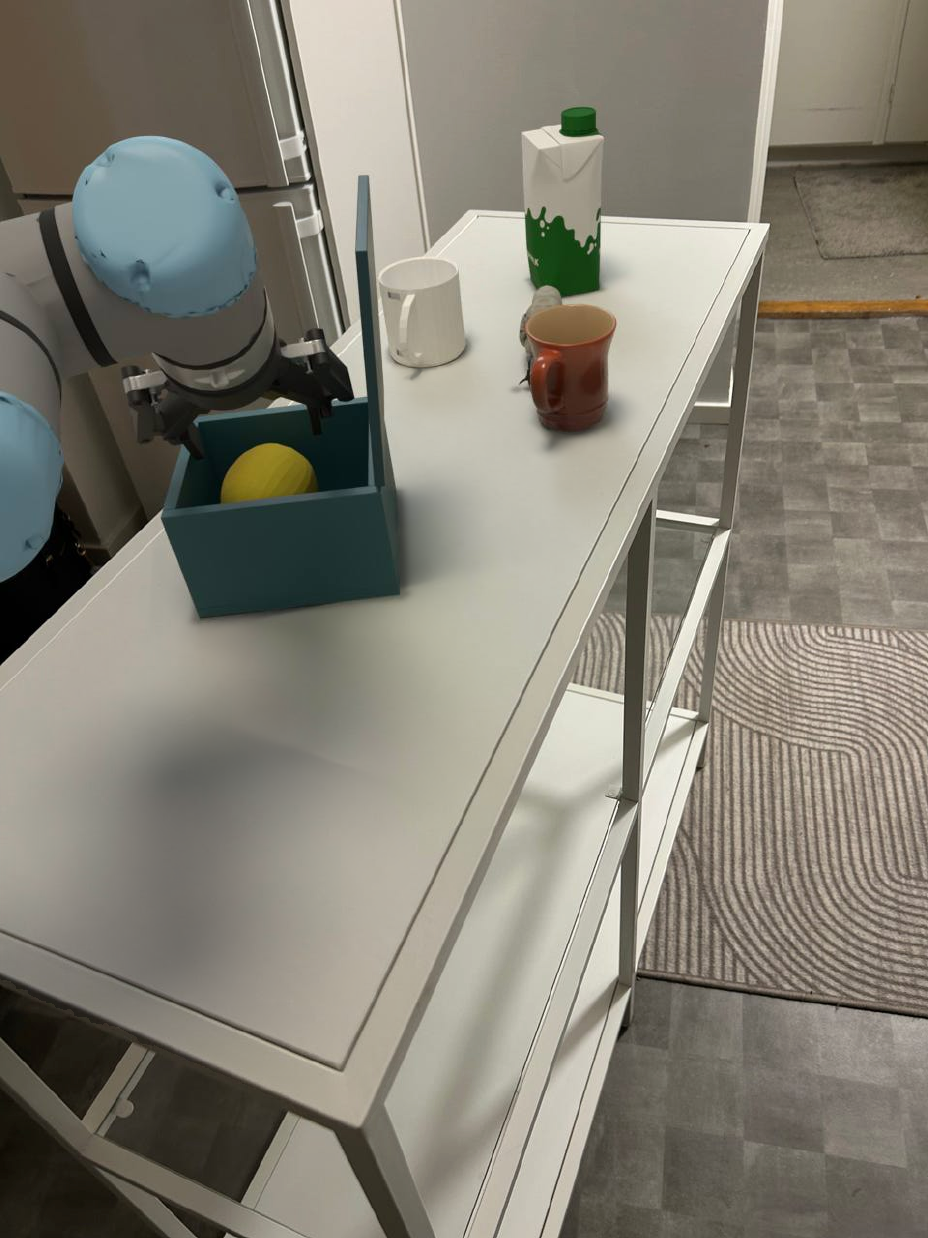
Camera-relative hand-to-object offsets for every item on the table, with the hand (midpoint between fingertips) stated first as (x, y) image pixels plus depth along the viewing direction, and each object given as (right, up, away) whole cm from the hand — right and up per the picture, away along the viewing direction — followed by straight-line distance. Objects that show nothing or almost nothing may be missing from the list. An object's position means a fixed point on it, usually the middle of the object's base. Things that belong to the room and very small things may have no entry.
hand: (255, 431), depth 78 cm
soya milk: (+31, +27, +42) cm, 58 cm away
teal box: (+3, -10, +5) cm, 11 cm away
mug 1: (+13, +15, +31) cm, 37 cm away
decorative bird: (+27, +14, +28) cm, 41 cm away
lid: (+10, +6, -8) cm, 14 cm away
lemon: (+2, -8, +3) cm, 9 cm away
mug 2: (+28, +4, +17) cm, 33 cm away
